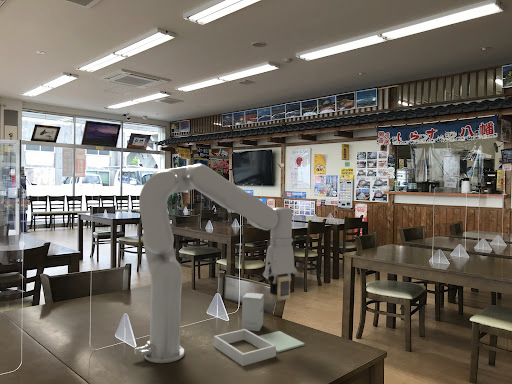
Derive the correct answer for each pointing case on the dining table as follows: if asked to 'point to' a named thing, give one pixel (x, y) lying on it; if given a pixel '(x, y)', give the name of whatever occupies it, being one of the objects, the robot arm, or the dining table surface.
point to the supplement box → (252, 311)
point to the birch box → (282, 288)
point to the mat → (282, 341)
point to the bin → (243, 359)
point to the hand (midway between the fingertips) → (279, 292)
